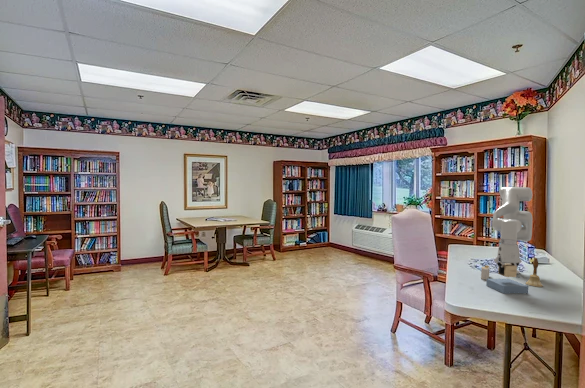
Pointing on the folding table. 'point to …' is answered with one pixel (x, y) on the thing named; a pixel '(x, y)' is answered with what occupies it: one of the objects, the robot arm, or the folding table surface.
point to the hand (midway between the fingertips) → (507, 273)
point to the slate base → (507, 286)
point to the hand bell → (534, 276)
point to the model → (485, 272)
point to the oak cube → (509, 270)
